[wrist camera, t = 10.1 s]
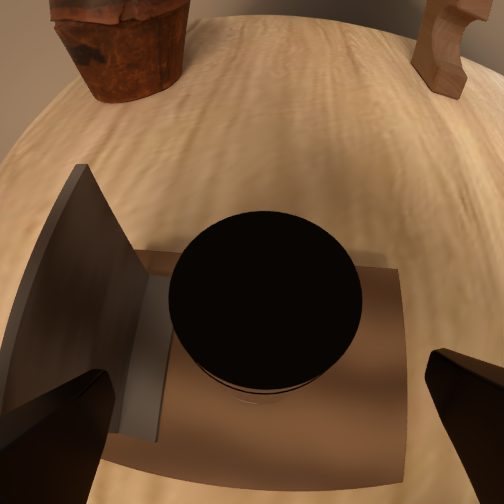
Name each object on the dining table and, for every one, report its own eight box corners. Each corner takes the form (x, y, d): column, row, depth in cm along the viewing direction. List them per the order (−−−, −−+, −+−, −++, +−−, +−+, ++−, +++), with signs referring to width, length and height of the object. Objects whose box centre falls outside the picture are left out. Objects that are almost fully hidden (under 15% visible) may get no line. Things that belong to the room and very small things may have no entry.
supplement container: (322, 322, 18) (374, 236, 10) (294, 418, 15) (339, 414, 7) (228, 295, 19) (211, 193, 11) (192, 385, 16) (135, 347, 8)
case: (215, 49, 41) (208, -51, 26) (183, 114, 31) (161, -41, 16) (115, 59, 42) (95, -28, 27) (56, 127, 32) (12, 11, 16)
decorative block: (459, 101, 36) (495, -3, 19) (430, 92, 36) (462, -20, 19) (436, 71, 42) (461, -19, 24) (409, 63, 42) (432, -32, 25)
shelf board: (392, 479, 14) (523, 504, 4) (101, 453, 15) (-35, 455, 5) (389, 279, 21) (470, 162, 11) (140, 260, 22) (74, 135, 12)
